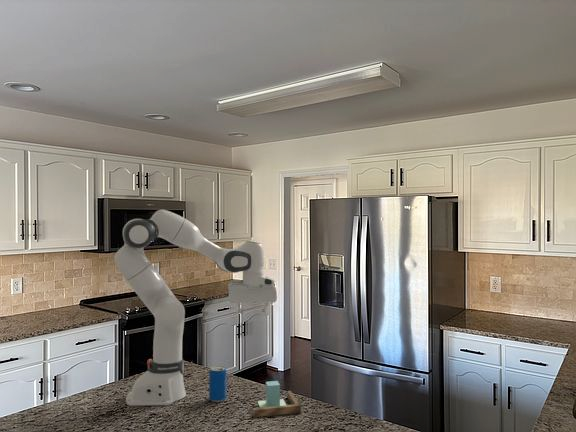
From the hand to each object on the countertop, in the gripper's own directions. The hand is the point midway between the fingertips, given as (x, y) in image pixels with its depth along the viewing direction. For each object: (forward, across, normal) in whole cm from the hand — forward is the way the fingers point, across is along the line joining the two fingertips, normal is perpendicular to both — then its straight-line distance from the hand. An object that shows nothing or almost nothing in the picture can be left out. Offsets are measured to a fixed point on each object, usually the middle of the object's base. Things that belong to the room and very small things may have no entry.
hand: (252, 313), depth 188 cm
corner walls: (+31, +5, -22) cm, 38 cm away
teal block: (+30, +5, -21) cm, 37 cm away
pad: (+31, +5, -21) cm, 38 cm away
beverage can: (+31, -14, -11) cm, 36 cm away
